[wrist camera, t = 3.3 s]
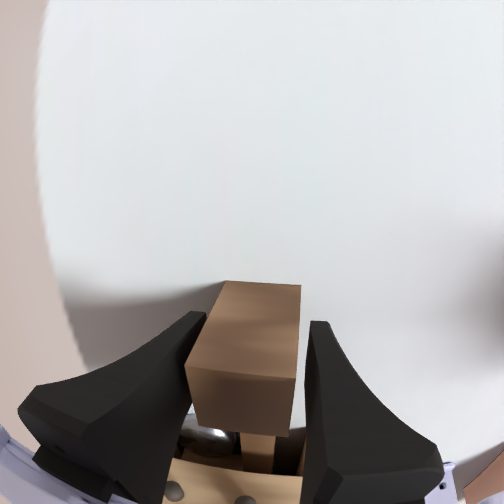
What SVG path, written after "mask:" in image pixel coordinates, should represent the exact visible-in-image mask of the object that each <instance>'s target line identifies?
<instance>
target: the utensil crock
mask: <svg viewBox="0 0 504 504" xmlns="http://www.w3.org/2000/svg"><path fill="white" fill-rule="evenodd" d="M463 491H464V495H465V501H466V504H477V503H478V502H480V501H482V500H483V499H485V498H487V497H489V496H492V495H494V494H497V493H499V492H502V491H504V451H503V452H502V453H501V454H500V455H499V456H498V457H497V458H496V459H495V460H494V461H493V462H492V463H491V464H490V465H489V466H488V467H487V468H486V469H485V470H484V471H483V472H482V473H481V474H480V475H479V476H478V477H476V478H475V479H474V480H473V481H472V482H471V483H470V484H469V485H468V486H466V487H465V488H464V489H463Z"/></svg>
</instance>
